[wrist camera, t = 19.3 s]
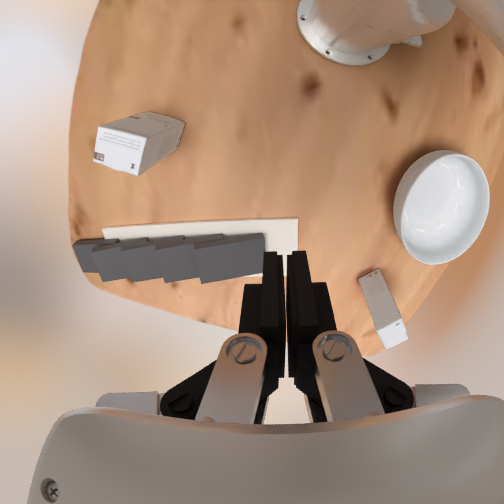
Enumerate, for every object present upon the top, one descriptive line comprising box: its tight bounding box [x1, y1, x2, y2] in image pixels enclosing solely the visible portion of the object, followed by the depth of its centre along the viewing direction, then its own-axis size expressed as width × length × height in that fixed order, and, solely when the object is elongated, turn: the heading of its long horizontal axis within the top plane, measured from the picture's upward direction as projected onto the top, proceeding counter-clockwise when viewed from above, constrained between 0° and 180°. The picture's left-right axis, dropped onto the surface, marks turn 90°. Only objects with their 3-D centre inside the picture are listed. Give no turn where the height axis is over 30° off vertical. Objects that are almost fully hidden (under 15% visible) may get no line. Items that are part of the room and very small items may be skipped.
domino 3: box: [121, 235, 184, 282], centre depth 41 cm, size 2×6×10 cm
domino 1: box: [72, 238, 120, 273], centre depth 43 cm, size 2×6×10 cm
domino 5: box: [194, 233, 266, 284], centre depth 40 cm, size 2×6×10 cm
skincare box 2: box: [358, 268, 408, 349], centre depth 40 cm, size 6×4×12 cm
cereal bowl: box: [393, 150, 490, 265], centre depth 32 cm, size 17×17×7 cm
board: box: [102, 217, 298, 277], centre depth 43 cm, size 32×10×1 cm, turn 94°
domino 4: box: [155, 233, 223, 283], centre depth 41 cm, size 2×6×10 cm
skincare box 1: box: [93, 112, 185, 176], centre depth 28 cm, size 6×4×12 cm
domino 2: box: [91, 237, 148, 282], centre depth 42 cm, size 2×6×10 cm
